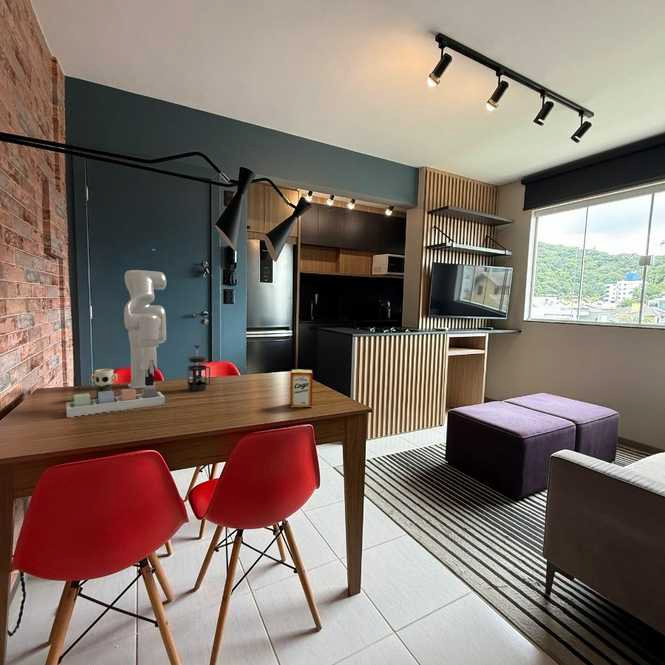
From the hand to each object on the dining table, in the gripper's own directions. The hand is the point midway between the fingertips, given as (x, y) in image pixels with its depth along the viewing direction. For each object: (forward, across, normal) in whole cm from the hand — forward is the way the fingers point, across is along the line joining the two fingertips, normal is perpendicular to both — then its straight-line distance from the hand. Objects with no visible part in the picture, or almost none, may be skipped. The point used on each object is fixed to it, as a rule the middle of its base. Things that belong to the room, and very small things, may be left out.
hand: (149, 385), depth 153 cm
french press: (+8, -14, +25) cm, 30 cm away
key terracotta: (+5, 0, -8) cm, 9 cm away
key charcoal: (+5, 0, 0) cm, 5 cm away
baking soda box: (+9, +38, +54) cm, 66 cm away
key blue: (+5, 0, -16) cm, 17 cm away
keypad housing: (+8, 0, -12) cm, 14 cm away
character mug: (+8, -20, -15) cm, 26 cm away
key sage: (+5, 0, -24) cm, 25 cm away
